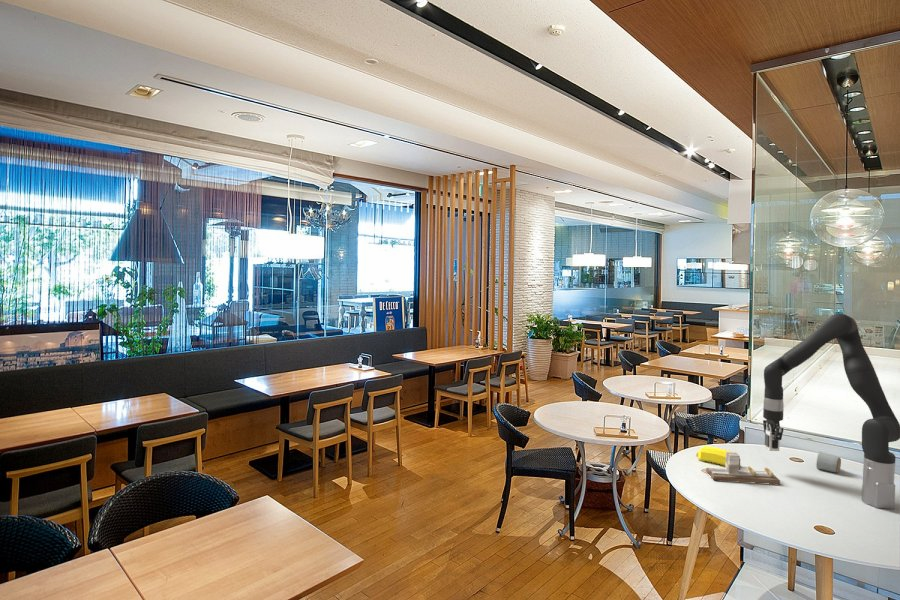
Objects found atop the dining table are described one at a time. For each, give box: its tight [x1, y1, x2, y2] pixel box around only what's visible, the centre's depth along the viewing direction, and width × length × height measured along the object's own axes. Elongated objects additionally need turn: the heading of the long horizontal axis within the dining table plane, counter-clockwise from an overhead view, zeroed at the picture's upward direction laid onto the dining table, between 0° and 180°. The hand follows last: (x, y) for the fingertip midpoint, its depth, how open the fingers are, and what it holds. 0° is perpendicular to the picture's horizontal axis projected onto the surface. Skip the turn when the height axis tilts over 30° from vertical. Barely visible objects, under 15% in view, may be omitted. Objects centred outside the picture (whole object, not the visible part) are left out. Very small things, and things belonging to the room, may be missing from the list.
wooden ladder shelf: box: [705, 451, 781, 485], centre depth 220 cm, size 9×26×11 cm, turn 81°
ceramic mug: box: [815, 451, 842, 474], centre depth 231 cm, size 11×8×8 cm
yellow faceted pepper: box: [696, 445, 732, 467], centre depth 238 cm, size 18×7×8 cm
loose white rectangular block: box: [764, 430, 781, 452], centre depth 227 cm, size 4×4×8 cm
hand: (772, 446), depth 227 cm, fingers closed on loose white rectangular block, 4 cm apart
